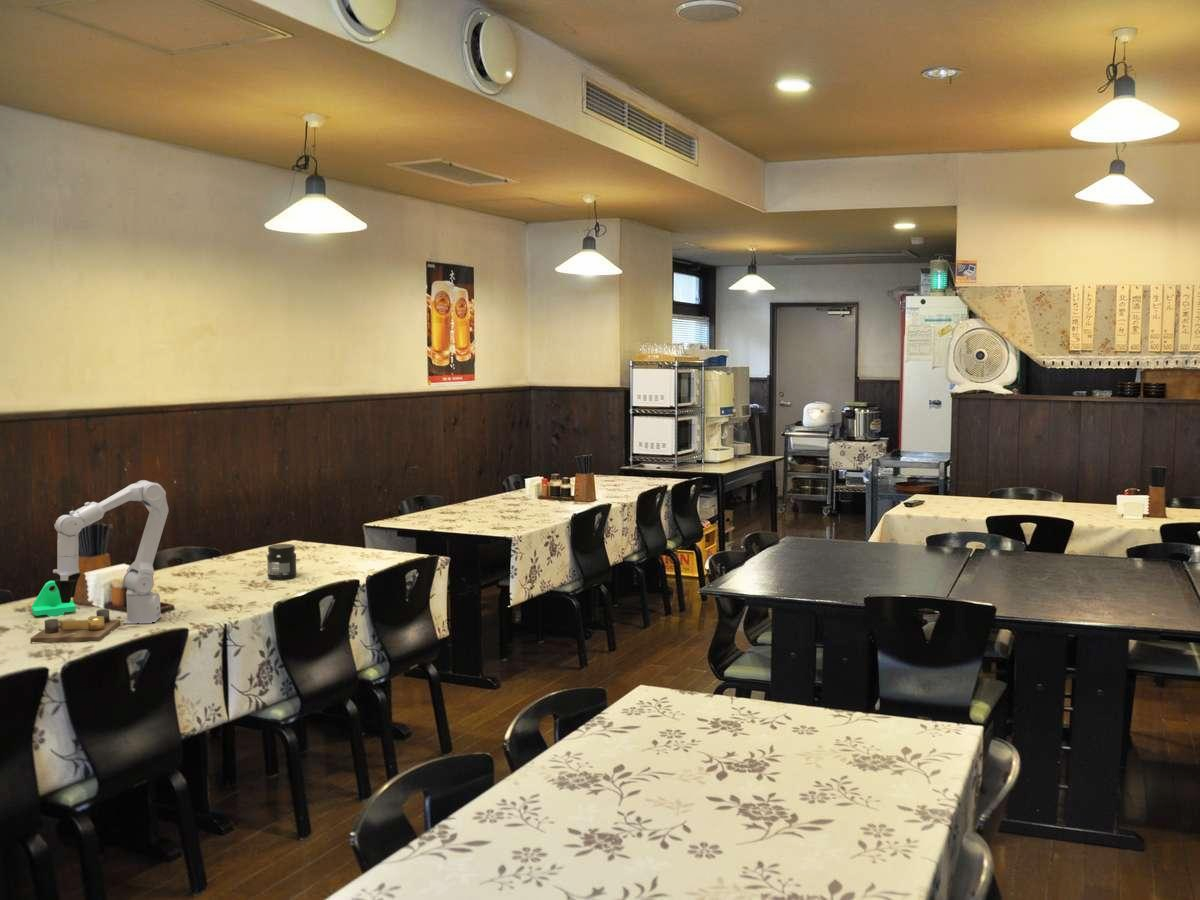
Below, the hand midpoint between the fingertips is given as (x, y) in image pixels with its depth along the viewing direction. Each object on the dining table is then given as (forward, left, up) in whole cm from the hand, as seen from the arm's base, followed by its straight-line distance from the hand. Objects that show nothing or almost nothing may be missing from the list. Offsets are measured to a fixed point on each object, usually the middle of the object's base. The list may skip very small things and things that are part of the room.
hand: (67, 600), depth 325 cm
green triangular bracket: (+13, -25, -10) cm, 30 cm away
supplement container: (-50, -73, -10) cm, 89 cm away
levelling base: (-3, +2, -10) cm, 10 cm away
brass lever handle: (-5, +3, -8) cm, 10 cm away
